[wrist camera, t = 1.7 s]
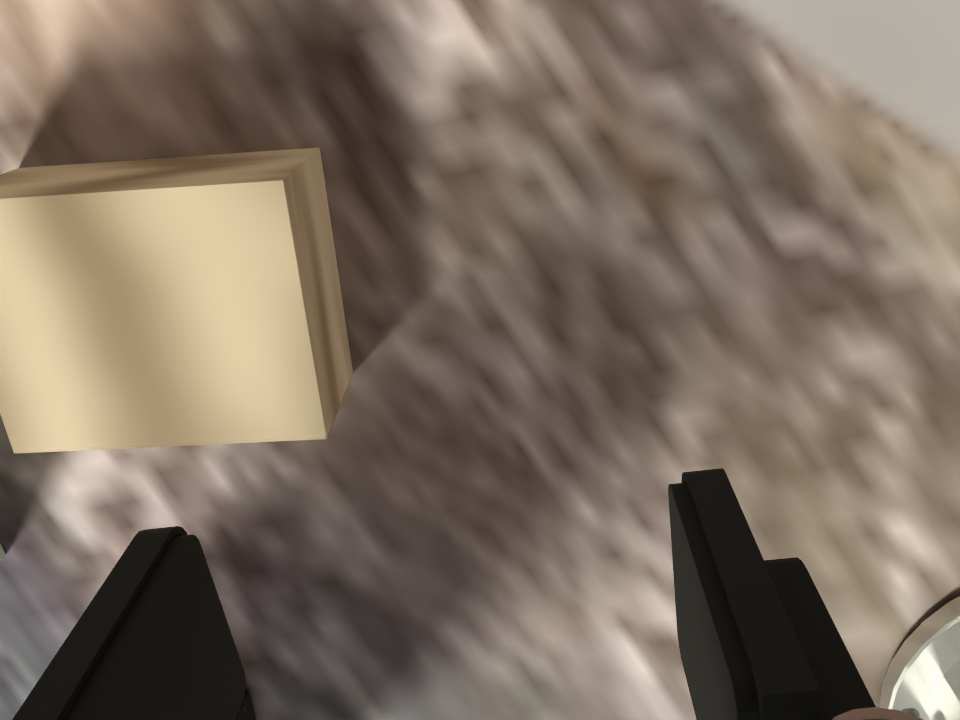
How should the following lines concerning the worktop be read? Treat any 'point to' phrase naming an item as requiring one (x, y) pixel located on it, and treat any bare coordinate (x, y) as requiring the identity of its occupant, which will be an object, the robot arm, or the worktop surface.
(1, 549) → the board
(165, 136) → the worktop surface
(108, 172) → the maple block
